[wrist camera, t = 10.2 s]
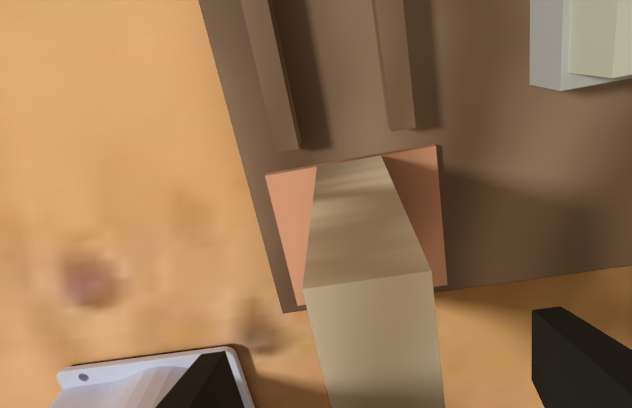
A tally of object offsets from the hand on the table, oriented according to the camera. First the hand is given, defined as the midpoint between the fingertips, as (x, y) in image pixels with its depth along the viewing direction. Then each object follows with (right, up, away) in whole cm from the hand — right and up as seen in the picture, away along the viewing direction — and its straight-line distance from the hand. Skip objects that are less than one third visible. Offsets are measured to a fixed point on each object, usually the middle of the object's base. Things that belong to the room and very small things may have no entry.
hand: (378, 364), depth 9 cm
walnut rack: (+3, +8, +6) cm, 10 cm away
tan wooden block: (0, +3, +6) cm, 7 cm away
